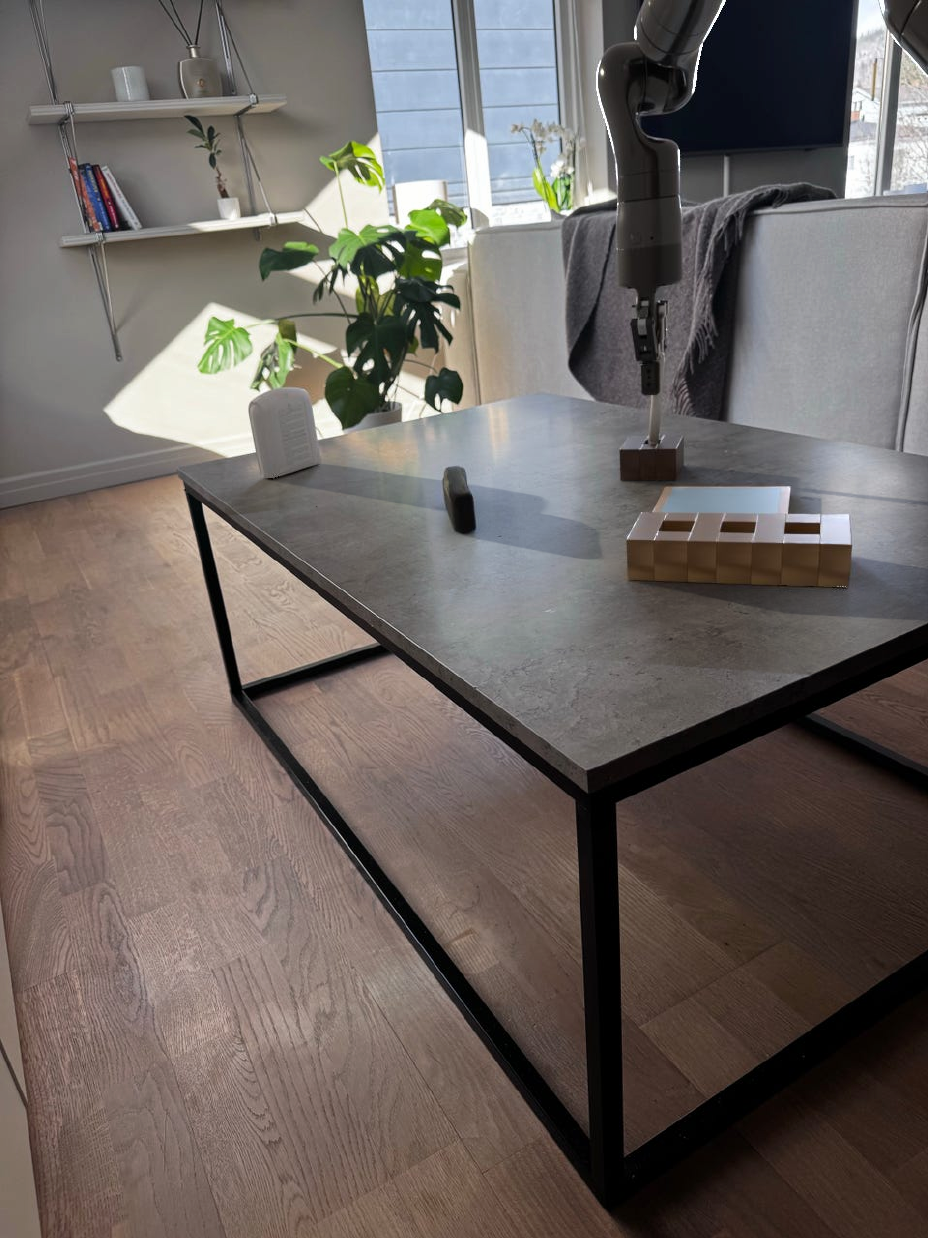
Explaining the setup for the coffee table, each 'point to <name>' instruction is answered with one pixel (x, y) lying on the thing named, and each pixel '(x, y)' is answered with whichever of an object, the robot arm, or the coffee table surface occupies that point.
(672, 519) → the pen holder
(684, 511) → the tablet
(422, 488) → the coffee table surface
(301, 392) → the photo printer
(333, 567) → the coffee table surface
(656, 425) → the stylus
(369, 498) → the coffee table surface
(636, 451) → the stand
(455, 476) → the dark grey tall block
